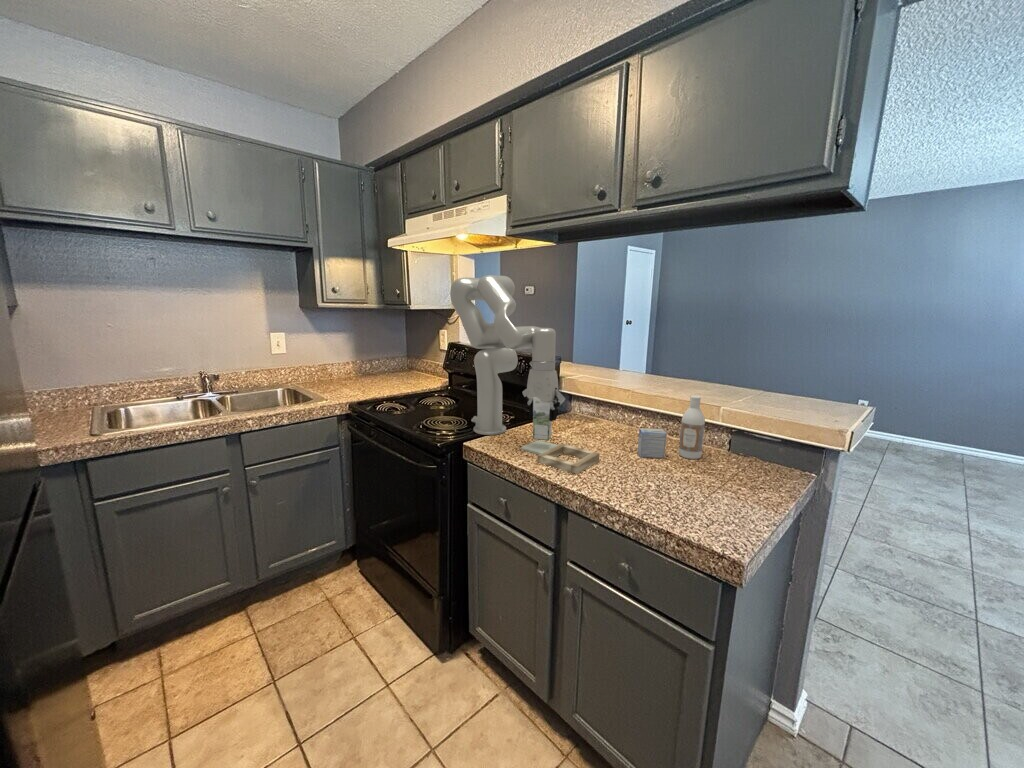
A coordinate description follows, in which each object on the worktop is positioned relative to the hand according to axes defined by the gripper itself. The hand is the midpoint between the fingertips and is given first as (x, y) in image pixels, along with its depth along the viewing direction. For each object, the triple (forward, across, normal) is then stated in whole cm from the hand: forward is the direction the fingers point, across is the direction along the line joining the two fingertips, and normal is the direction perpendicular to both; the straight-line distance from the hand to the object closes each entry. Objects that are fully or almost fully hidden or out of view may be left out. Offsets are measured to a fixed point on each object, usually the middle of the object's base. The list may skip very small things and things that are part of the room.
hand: (542, 417), depth 140 cm
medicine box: (+11, +31, +18) cm, 37 cm away
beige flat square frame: (+11, +13, -4) cm, 17 cm away
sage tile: (+11, 0, 0) cm, 11 cm away
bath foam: (+11, +41, +26) cm, 50 cm away
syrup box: (+7, 0, 0) cm, 7 cm away
